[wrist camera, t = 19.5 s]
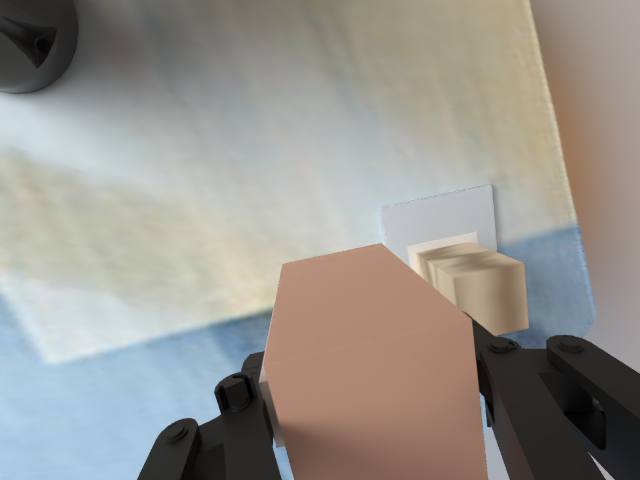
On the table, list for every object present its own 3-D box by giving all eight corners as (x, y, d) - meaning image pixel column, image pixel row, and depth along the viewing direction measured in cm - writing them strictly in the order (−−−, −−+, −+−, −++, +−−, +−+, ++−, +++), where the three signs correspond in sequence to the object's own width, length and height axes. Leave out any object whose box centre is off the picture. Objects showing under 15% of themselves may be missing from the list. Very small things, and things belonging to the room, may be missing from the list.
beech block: (423, 303, 41) (461, 343, 31) (416, 253, 40) (453, 278, 30) (474, 291, 41) (528, 328, 31) (469, 241, 40) (524, 263, 30)
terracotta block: (303, 353, 20) (307, 528, 10) (282, 263, 18) (262, 364, 9) (395, 333, 20) (488, 486, 10) (381, 243, 19) (471, 319, 9)
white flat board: (402, 347, 43) (404, 351, 42) (379, 207, 39) (381, 208, 38) (499, 326, 44) (504, 330, 43) (487, 184, 39) (492, 184, 38)
